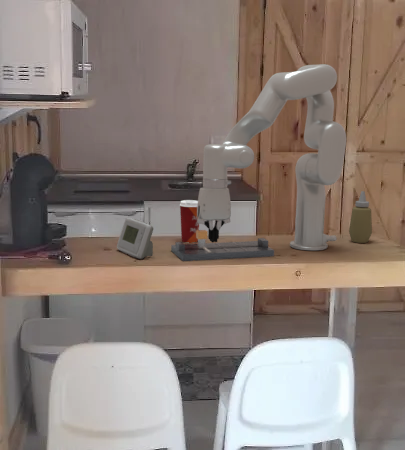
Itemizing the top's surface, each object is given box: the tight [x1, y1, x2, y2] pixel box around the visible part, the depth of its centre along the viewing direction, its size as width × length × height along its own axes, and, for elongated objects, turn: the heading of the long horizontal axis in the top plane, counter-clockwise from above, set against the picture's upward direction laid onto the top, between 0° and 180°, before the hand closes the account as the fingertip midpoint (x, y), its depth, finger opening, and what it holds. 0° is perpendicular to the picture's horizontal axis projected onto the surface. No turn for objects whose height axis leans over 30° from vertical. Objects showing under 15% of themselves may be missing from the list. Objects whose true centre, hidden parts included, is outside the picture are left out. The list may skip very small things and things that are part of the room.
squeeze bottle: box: [348, 190, 373, 244], centre depth 233 cm, size 8×8×18 cm
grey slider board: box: [170, 237, 275, 262], centre depth 211 cm, size 30×14×4 cm, turn 107°
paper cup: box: [179, 199, 200, 244], centre depth 228 cm, size 8×8×14 cm
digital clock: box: [116, 217, 154, 260], centre depth 208 cm, size 16×9×11 cm, turn 22°
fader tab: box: [196, 229, 209, 248], centre depth 209 cm, size 3×2×5 cm
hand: (213, 241), depth 210 cm, fingers closed
